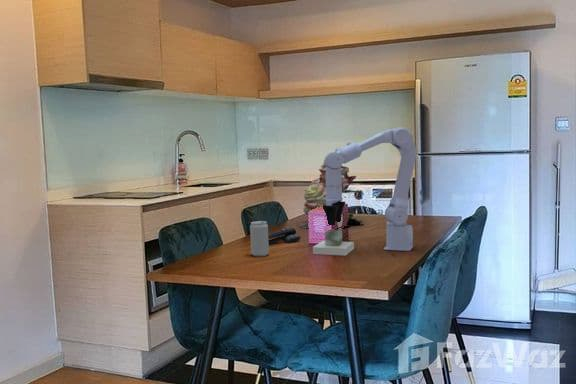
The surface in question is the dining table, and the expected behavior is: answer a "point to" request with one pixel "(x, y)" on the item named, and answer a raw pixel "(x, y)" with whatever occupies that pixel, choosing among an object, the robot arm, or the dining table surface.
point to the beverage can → (259, 238)
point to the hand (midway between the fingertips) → (334, 223)
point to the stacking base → (333, 249)
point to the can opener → (288, 236)
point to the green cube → (333, 238)
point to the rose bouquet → (318, 192)
